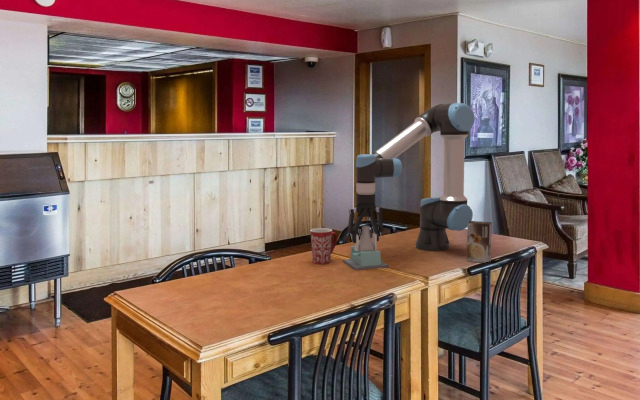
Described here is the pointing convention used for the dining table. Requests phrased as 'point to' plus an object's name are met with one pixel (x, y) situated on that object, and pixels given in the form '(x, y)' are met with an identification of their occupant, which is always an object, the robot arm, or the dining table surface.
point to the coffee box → (479, 241)
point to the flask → (365, 240)
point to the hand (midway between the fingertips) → (365, 249)
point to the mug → (322, 245)
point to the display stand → (365, 260)
